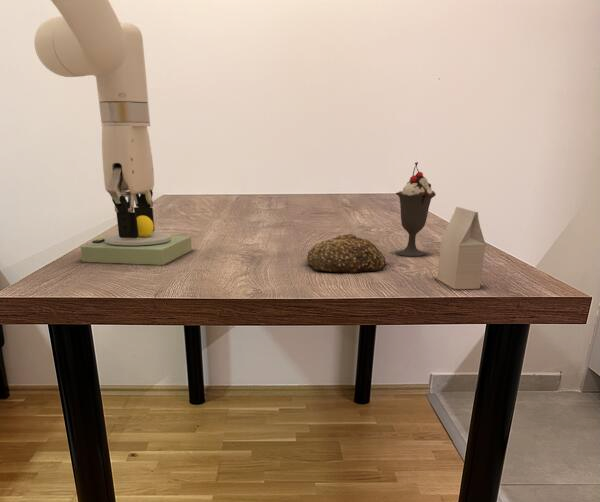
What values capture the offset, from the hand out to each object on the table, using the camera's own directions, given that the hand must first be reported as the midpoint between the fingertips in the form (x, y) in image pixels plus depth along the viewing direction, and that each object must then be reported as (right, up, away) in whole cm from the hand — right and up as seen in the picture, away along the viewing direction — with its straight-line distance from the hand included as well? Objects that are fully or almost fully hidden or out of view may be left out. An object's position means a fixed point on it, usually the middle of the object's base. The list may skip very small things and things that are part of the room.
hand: (137, 233), depth 108 cm
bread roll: (+35, -7, -6) cm, 36 cm away
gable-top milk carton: (+50, -13, -17) cm, 54 cm away
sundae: (+47, -2, +4) cm, 47 cm away
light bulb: (0, -1, 0) cm, 1 cm away
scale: (0, -3, +2) cm, 4 cm away
